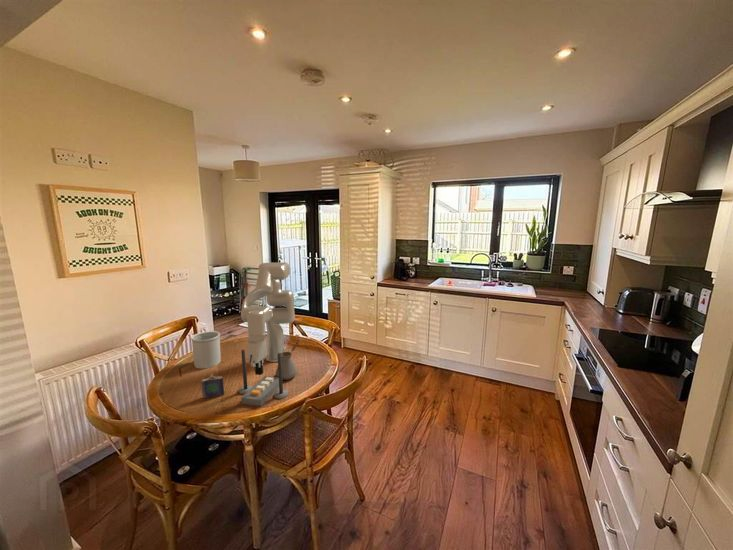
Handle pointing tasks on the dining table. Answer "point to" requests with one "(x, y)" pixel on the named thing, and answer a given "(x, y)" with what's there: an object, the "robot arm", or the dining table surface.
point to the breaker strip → (261, 391)
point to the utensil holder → (206, 349)
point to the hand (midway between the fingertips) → (259, 373)
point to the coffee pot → (287, 365)
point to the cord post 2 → (280, 382)
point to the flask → (212, 387)
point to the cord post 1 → (244, 376)
